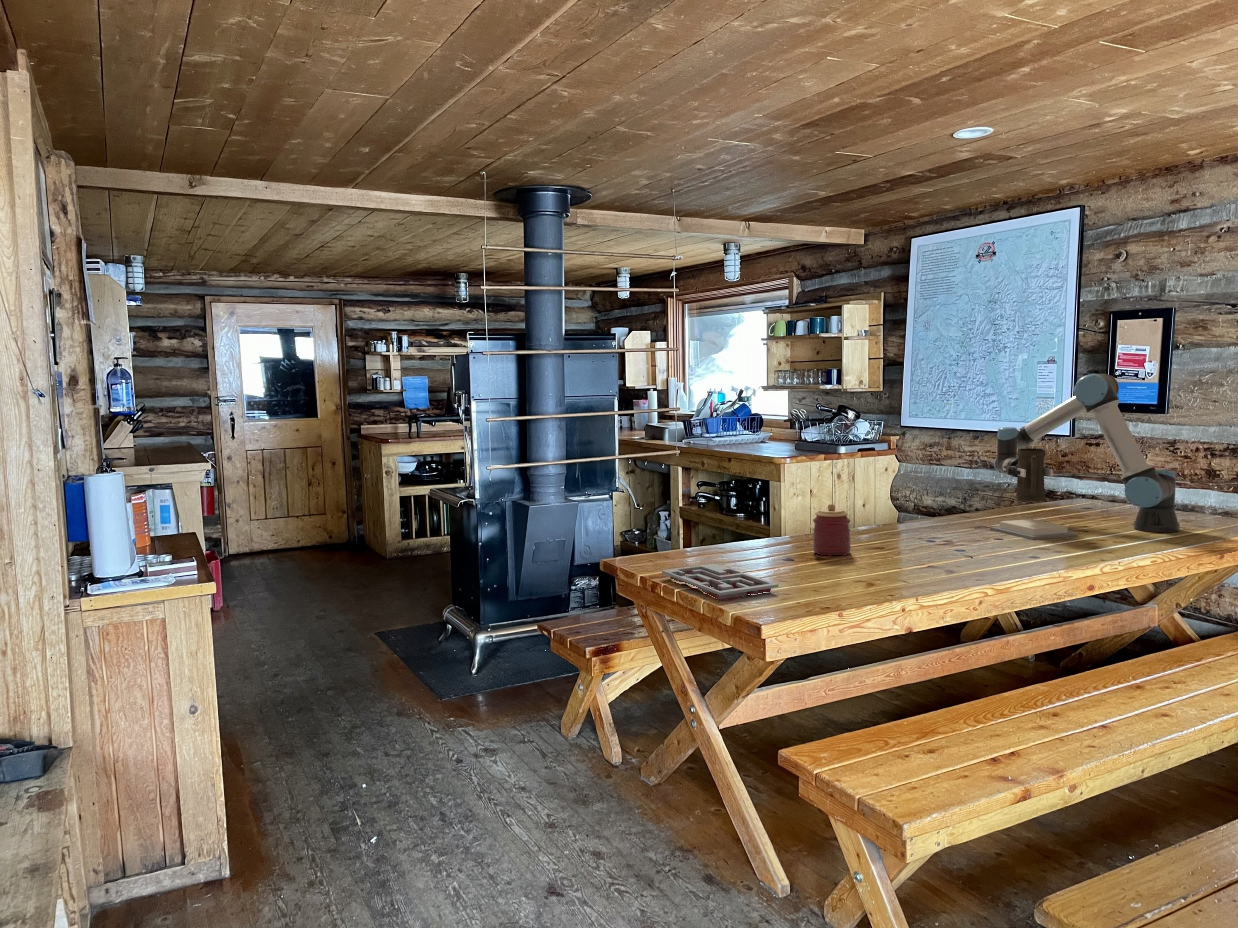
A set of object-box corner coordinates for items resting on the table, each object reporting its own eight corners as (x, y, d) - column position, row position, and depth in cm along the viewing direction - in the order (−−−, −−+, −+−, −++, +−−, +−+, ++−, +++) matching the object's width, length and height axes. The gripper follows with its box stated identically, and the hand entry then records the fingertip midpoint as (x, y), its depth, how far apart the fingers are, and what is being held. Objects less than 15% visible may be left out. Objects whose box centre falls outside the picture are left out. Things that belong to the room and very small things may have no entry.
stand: (1033, 526, 356) (1033, 517, 355) (1077, 535, 332) (1078, 526, 332) (990, 529, 351) (990, 520, 350) (1032, 539, 327) (1032, 530, 327)
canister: (821, 548, 322) (821, 500, 320) (856, 551, 315) (856, 502, 313) (807, 554, 312) (806, 505, 310) (842, 558, 304) (842, 507, 302)
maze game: (778, 595, 256) (778, 584, 256) (720, 603, 248) (720, 592, 248) (715, 573, 288) (715, 563, 288) (662, 580, 280) (661, 570, 279)
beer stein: (1011, 497, 350) (1012, 447, 346) (1040, 497, 348) (1042, 446, 345) (1022, 505, 335) (1024, 453, 331) (1053, 505, 333) (1055, 453, 330)
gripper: (1043, 476, 357) (1067, 482, 335) (987, 477, 358) (1008, 483, 336) (1043, 457, 356) (1068, 462, 334) (987, 458, 358) (1008, 464, 335)
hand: (1038, 473), depth 335 cm, fingers closed on beer stein, 9 cm apart
